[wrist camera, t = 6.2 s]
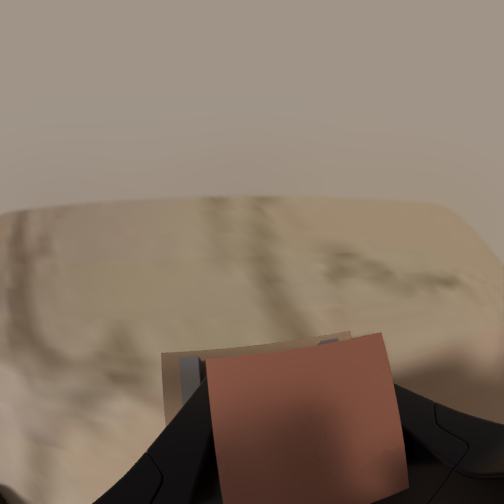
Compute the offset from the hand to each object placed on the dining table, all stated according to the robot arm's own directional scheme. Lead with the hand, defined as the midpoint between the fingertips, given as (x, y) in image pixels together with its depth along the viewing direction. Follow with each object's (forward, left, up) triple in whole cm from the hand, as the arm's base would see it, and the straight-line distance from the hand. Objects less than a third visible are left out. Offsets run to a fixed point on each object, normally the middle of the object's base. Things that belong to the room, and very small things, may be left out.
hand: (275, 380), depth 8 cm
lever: (-2, +1, -5) cm, 5 cm away
